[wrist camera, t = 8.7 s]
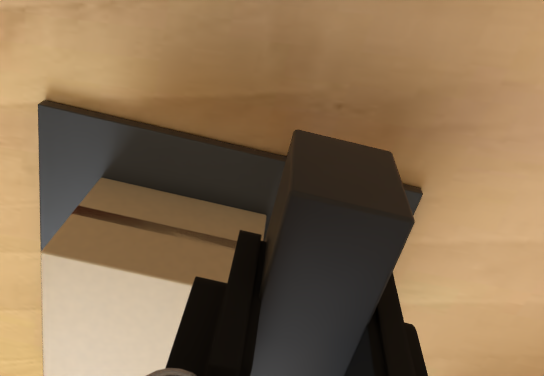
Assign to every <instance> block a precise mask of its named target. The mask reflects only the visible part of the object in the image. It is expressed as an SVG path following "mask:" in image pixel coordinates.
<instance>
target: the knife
mask: <svg viewBox="0 0 544 376" xmlns="http://www.w3.org/2000/svg"><path fill="white" fill-rule="evenodd" d="M414 223H415V222H414V217H413V214H412V211H411V208H410V205H409V202H408V199H407V196H406V193H405V190H404V187H403V184H402V181H401V178H400V175H399V172H398V170H397V167H396V164H395V161H394V158H393V155H392V153H391V152H389V151H385V150H381V149H377V148H373V147H368V146H364V145H360V144H356V143H352V142H347V141H343V140H339V139H335V138H331V137H326V136H322V135H318V134H314V133H310V132H305V131H301V130H295V131H294V132H293V136H292V139H291V143H290V147H289V151H288V154H287V158H286V162H285V166H284V169H283V173H282V177H281V181H280V184H279V188H278V192H277V196H276V199H275V203H274V207H273V211H272V214H271V218H270V222H269V226H268V229H267V233H266V237H265V242H266V250H265V257H264V264H263V271H262V278H261V285H260V292H259V299H260V300H261V307H260V315H259V322H258V330H257V337H256V345H255V353H254V360H253V366H252V371H251V375H250V376H345V374H346V372H347V370H348V367H349V365H350V363H351V361H352V358H353V356H354V354H355V352H356V350H357V347H358V345H359V343H360V341H361V338H362V336H363V334H364V332H365V329H366V327H367V325H368V324H369V323H370V321H371V319H372V316H373V314H374V312H375V310H376V307H377V305H378V303H379V301H380V298H381V296H382V294H383V292H384V290H385V287H386V285H387V283H388V281H389V278H390V276H391V274H392V272H393V269H394V267H395V265H396V263H397V261H398V258H399V256H400V254H401V252H402V249H403V247H404V245H405V243H406V240H407V238H408V236H409V234H410V232H411V229H412V227H413V225H414Z"/></svg>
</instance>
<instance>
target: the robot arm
mask: <svg viewBox="0 0 544 376" xmlns="http://www.w3.org/2000/svg"><path fill="white" fill-rule="evenodd" d="M261 236H262V235H261V234H257V233H252V232H248V231H243V230H240V231H239V235H238V240H237V244H236V248H235V253H234V257H233V261H232V265H231V270H230V274H229V278H228V283H224V282H220V281H215V280H211V279H206V278H202V277H197V276H196V277H195V279H194V282H193V285H192V288H191V291H190V294H189V297H188V300H187V303H186V306H185V310H184V313H183V316H182V319H181V322H180V325H179V328H178V331H177V334H176V337H175V340H174V343H173V346H172V349H171V352H170V355H169V358H168V362H167V365H166V368H165V369H161V370H156V371H154V372H152V373H150V374H148V375H146V376H250V375H251V371H252V366H253V360H254V353H255V345H256V337H257V330H258V322H259V315H260V307H261V300H260V299H259V292H260V285H261V278H262V271H263V264H264V257H265V250H266V242H265V241H261ZM345 376H428V374H427V370H426V366H425V362H424V359H423V355H422V351H421V347H420V343H419V339H418V335H417V332H416V329H415V327H414V326H413V325H412V324H408V323H404V320H403V316H402V311H401V307H400V302H399V298H398V294H397V289H396V285H395V281H394V276H393V272H392V274H391V276H390V278H389V281H388V283H387V285H386V287H385V290H384V292H383V294H382V296H381V298H380V301H379V303H378V305H377V307H376V310H375V312H374V314H373V316H372V319H371V321H370V323H369V324H368V325H367V327H366V329H365V332H364V334H363V336H362V338H361V341H360V343H359V345H358V347H357V350H356V352H355V354H354V356H353V358H352V361H351V363H350V365H349V367H348V370H347V372H346V374H345Z"/></svg>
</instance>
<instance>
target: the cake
mask: <svg viewBox="0 0 544 376" xmlns="http://www.w3.org/2000/svg"><path fill="white" fill-rule="evenodd" d="M38 130H39V181H40V233H41V288H42V339H43V376H146V375H148V374H150V373H152V372H154V371H156V370H161V369H165V368H166V365H167V362H168V358H169V355H170V352H171V349H172V346H173V343H174V340H175V337H176V334H177V331H178V328H179V325H180V322H181V319H182V316H183V313H184V310H185V306H186V303H187V300H188V297H189V294H190V291H191V288H192V285H193V282H194V279H195V277H196V276H197V277H202V278H206V279H211V280H215V281H220V282H224V283H228V278H229V274H230V270H231V265H232V261H233V257H234V253H235V248H236V244H237V240H238V235H239V231H240V230H243V231H248V232H252V233H257V234H261V235H262V236H261V241H265V237H266V233H267V229H268V226H269V222H270V218H271V214H272V211H273V207H274V203H275V199H276V196H277V192H278V188H279V184H280V181H281V177H282V173H283V169H284V166H285V162H286V158H287V157H285V156H281V155H276V154H272V153H268V152H264V151H259V150H255V149H251V148H246V147H242V146H238V145H234V144H229V143H225V142H221V141H217V140H212V139H208V138H204V137H199V136H195V135H191V134H187V133H182V132H178V131H174V130H170V129H165V128H161V127H157V126H152V125H148V124H144V123H140V122H135V121H131V120H127V119H123V118H118V117H114V116H110V115H105V114H101V113H97V112H93V111H88V110H84V109H80V108H76V107H71V106H67V105H63V104H58V103H54V102H50V101H46V100H44V101H42V102H41V103H39V104H38ZM403 187H404V190H405V193H406V196H407V199H408V202H409V205H410V208H411V211H412V214H413V215H414V213H415V211H416V208H417V206H418V204H419V202H420V199H421V197H422V195H423V193H422V191H421V189H420V188H417V187H413V186H409V185H405V184H403Z"/></svg>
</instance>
